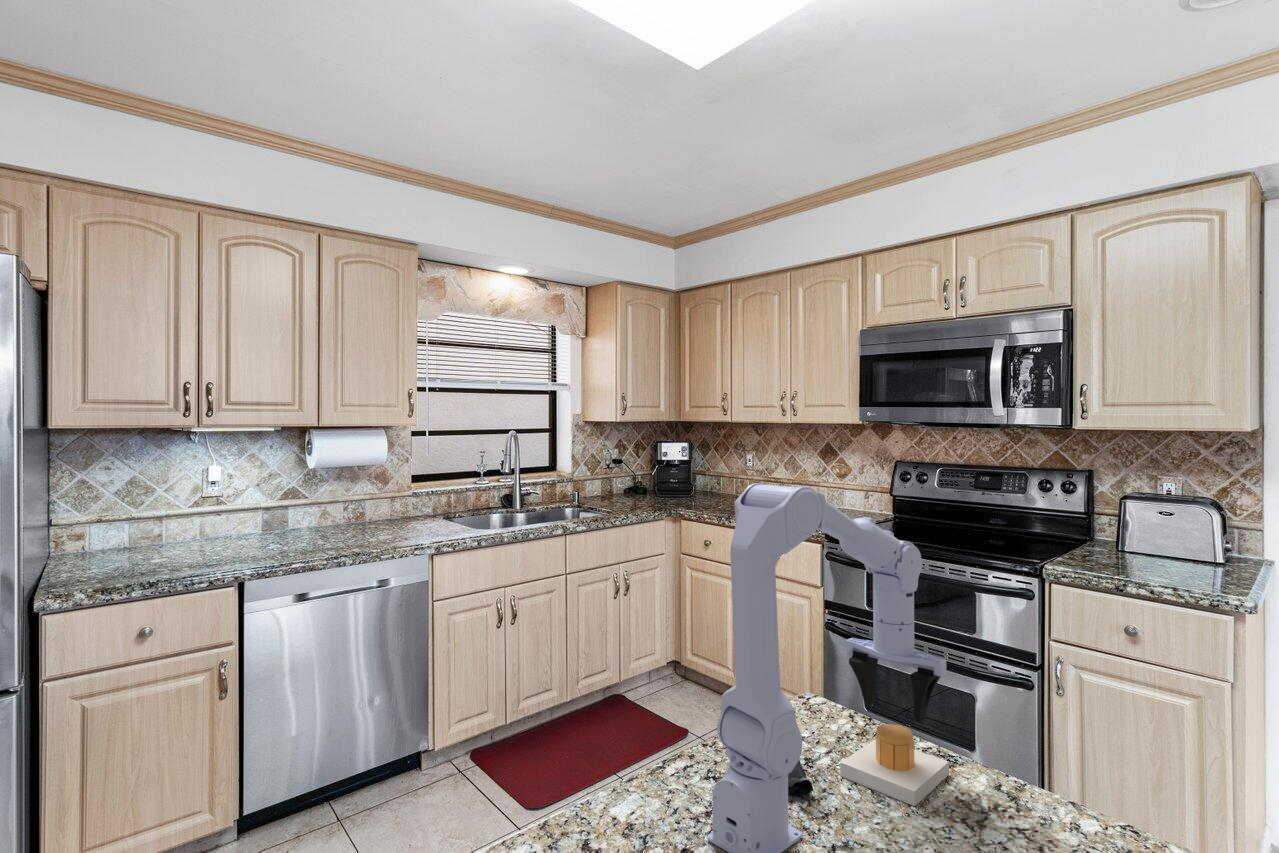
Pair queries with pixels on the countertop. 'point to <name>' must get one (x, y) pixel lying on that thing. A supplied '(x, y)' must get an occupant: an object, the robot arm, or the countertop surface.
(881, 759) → the orange acorn nut
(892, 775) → the white base plate
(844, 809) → the countertop surface
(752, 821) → the robot arm
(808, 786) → the electronic device
